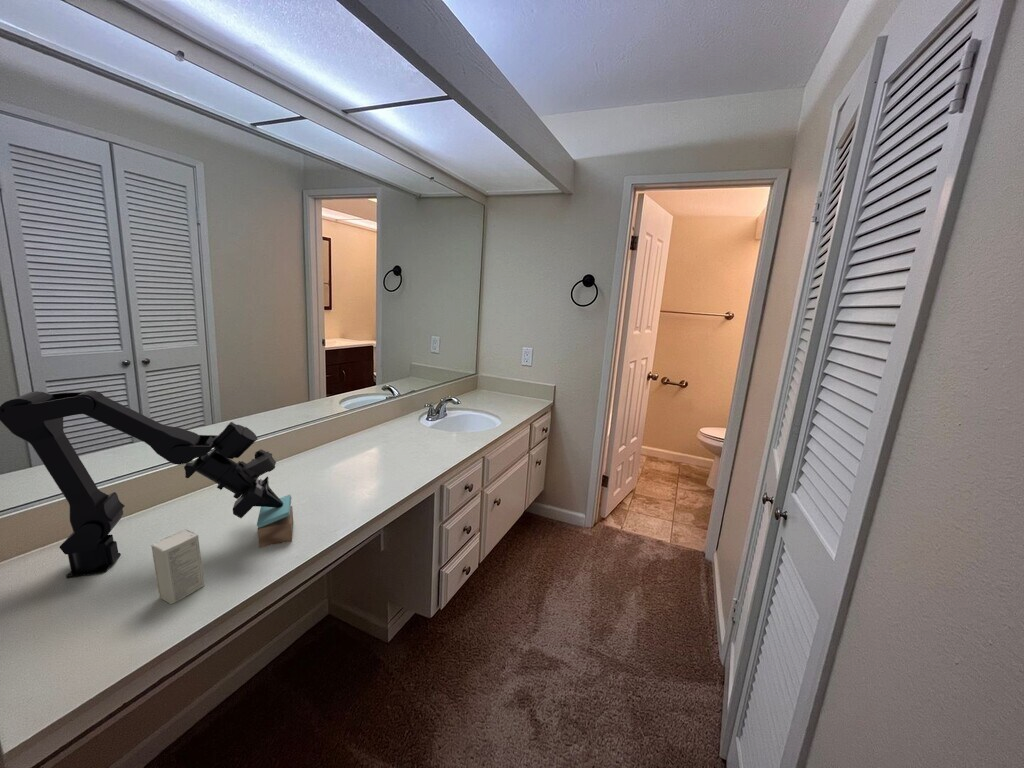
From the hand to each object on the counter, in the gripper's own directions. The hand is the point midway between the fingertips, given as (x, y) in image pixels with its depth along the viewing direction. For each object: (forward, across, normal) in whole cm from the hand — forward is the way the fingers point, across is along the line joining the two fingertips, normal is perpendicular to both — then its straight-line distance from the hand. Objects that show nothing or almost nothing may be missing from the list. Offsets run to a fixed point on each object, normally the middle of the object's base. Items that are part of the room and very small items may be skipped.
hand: (281, 505), depth 102 cm
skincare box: (-7, -16, +18) cm, 25 cm away
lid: (0, 0, +2) cm, 2 cm away
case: (+4, 0, +7) cm, 8 cm away
